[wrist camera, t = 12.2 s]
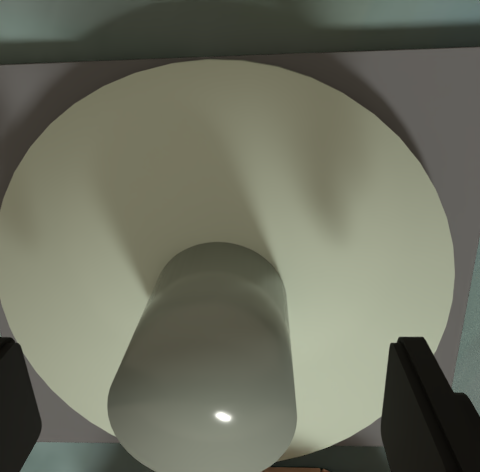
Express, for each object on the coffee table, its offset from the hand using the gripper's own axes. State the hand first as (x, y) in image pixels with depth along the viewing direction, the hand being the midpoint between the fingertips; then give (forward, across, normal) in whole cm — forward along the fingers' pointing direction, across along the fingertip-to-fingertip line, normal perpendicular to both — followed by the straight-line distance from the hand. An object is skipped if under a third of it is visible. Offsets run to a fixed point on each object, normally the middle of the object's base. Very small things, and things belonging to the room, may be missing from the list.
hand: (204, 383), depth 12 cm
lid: (+5, 0, 0) cm, 5 cm away
